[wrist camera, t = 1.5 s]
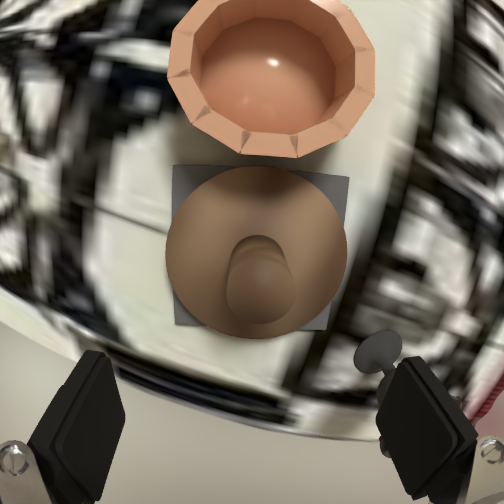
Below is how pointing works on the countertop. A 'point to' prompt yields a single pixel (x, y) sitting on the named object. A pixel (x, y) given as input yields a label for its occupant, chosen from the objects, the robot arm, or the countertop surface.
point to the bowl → (272, 73)
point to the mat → (195, 175)
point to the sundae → (382, 364)
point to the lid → (256, 252)
